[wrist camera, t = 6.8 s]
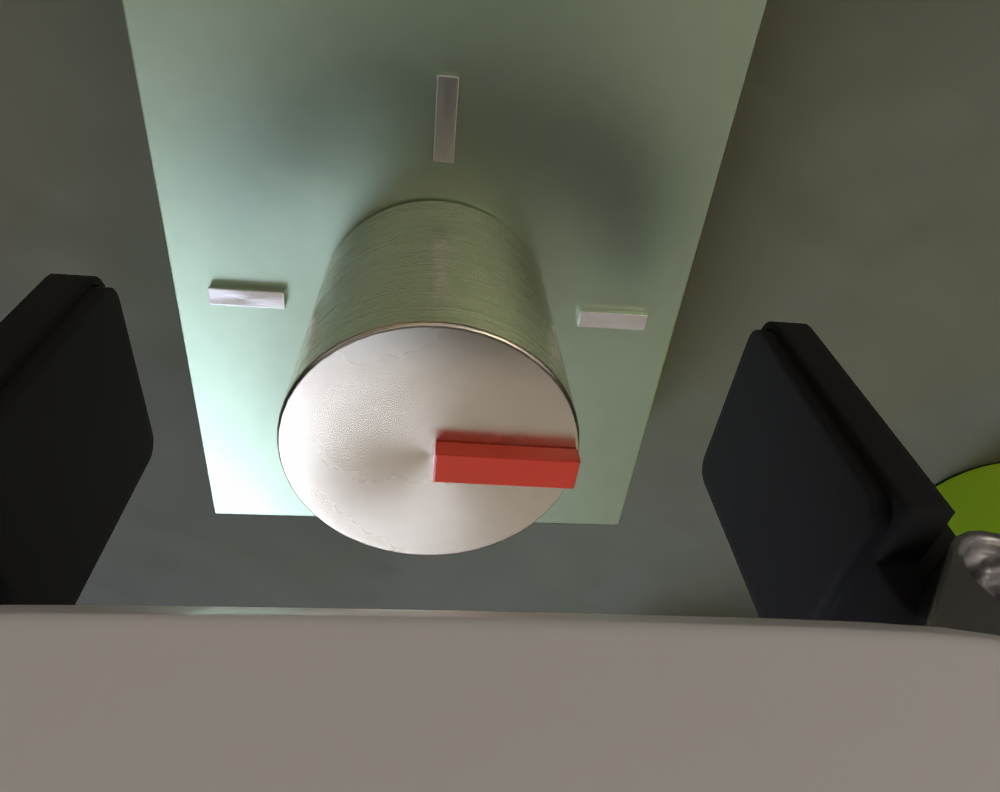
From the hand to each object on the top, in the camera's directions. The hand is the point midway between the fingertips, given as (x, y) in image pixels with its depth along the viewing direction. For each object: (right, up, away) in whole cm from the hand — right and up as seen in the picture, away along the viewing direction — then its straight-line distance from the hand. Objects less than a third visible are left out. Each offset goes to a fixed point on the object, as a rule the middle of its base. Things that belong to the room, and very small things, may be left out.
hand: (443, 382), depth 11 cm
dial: (0, +2, +3) cm, 4 cm away
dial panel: (-1, +3, +6) cm, 7 cm away
